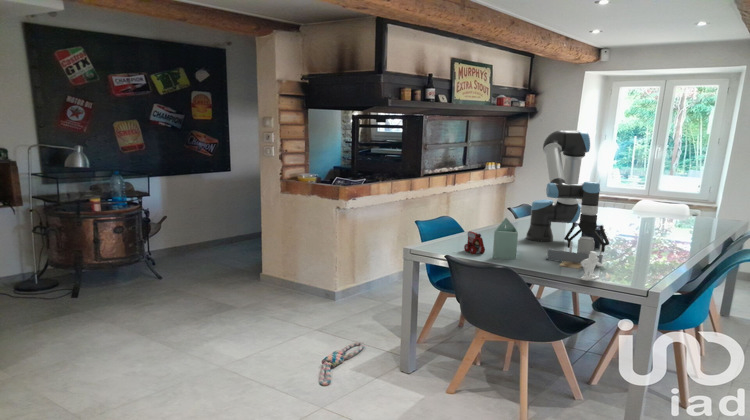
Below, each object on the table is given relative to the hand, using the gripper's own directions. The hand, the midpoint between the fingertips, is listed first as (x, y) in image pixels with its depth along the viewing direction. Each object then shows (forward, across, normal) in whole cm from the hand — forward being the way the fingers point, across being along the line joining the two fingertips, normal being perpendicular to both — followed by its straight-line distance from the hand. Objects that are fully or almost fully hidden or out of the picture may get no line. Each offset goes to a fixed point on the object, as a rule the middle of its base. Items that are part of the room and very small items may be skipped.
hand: (584, 256), depth 240 cm
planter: (+3, -33, -14) cm, 36 cm away
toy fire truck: (+3, -51, -15) cm, 53 cm away
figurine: (+3, +7, -30) cm, 31 cm away
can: (+3, 0, 0) cm, 3 cm away
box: (+3, -2, +39) cm, 39 cm away
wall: (+2, -4, -5) cm, 7 cm away
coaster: (+2, -4, -12) cm, 13 cm away
